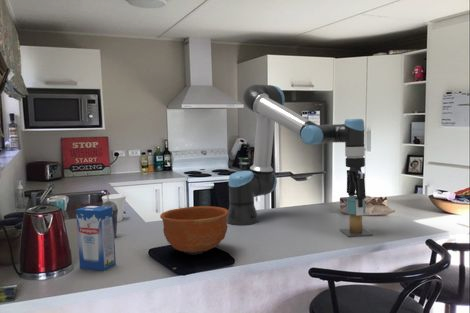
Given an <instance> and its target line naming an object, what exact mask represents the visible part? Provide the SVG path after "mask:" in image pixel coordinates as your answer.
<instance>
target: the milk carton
mask: <svg viewBox="0 0 470 313" xmlns="http://www.w3.org/2000/svg"><path fill="white" fill-rule="evenodd" d="M75 213H76V215H75V216H76V228H77V243H78V245H77V246H78V257H79V268H80V269H84V270H92V271H101V272H105V271H107V270H108V269H110V268H113V267H115V266H116V265H117V263H116V262H117V260H116V247H115V246H116V245H115V238H114V226H113V209H112V207H102V205H101V206H99V205H98V206H97V205H87V206H83V207H81V208H77V209H75Z"/></svg>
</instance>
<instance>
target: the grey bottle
mask: <svg viewBox="0 0 470 313" xmlns="http://www.w3.org/2000/svg"><path fill="white" fill-rule="evenodd" d="M106 195H107V199H108V201H107V202H105V203H104V204H103V203H102V205H101V206H102V207H112V209H113V226H114V239H116V238H117V233H118V232H117V231H118V229H117V226H118V224H117V223H118V222H117V214H118V209H117V206H116V204H115V203H114V202H111V201H109V196H108V195H109V190H107V191H106Z"/></svg>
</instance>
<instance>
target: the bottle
mask: <svg viewBox="0 0 470 313" xmlns="http://www.w3.org/2000/svg"><path fill="white" fill-rule="evenodd" d="M348 214H349V213H348ZM348 216H349V218H348V221H349V225H348V226H349V228H341V229H339V232H341V233H342V234H344V235H345V236H346V237H347V238H357V237H359V238H360V237H373V236H374V234H373V233H371V231H368V230H367V229H366V228H364V227H363V215H355V214H349V215H348Z"/></svg>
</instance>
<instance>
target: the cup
mask: <svg viewBox="0 0 470 313" xmlns="http://www.w3.org/2000/svg"><path fill="white" fill-rule="evenodd" d="M108 196H109V201H111V202H114V203H115V204H116V206H117V209H118V214H117V223H118V222H121V221H123V218H124V211H125V204H126V198H127V195H126V194H124V193H123V194H121V193H119V194H117V193H114V194H108ZM101 200H102V205H103V204H104V203H105V202H107V201H108V199H107V194H106V195H103V196H102V197H101Z"/></svg>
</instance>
